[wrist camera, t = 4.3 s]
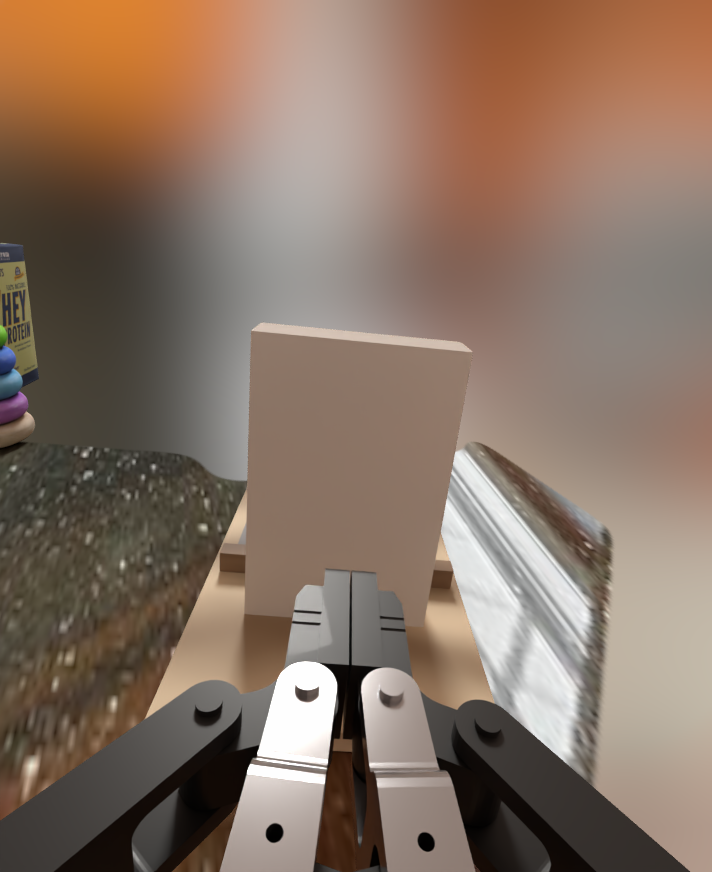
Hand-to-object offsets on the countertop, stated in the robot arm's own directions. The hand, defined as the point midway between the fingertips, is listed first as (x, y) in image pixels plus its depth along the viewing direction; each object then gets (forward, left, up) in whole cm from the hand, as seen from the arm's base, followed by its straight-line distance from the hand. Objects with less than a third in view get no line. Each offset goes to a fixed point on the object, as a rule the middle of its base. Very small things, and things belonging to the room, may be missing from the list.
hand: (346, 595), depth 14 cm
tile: (-5, +8, -8) cm, 13 cm away
